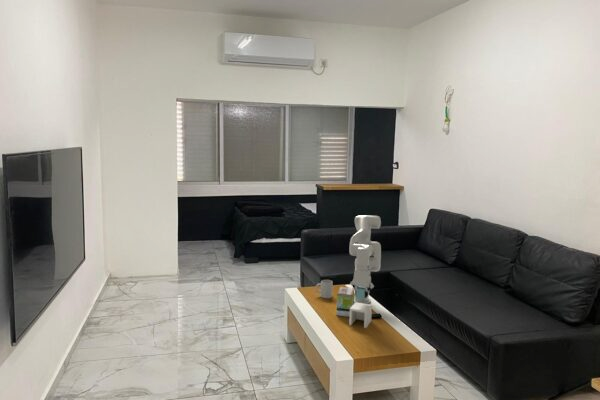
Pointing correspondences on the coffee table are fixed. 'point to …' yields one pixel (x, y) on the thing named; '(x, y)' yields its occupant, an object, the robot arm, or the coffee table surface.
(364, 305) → the white arch block
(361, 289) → the pale blue rectangular block
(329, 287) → the mug
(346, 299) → the tea box
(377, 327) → the coffee table surface
